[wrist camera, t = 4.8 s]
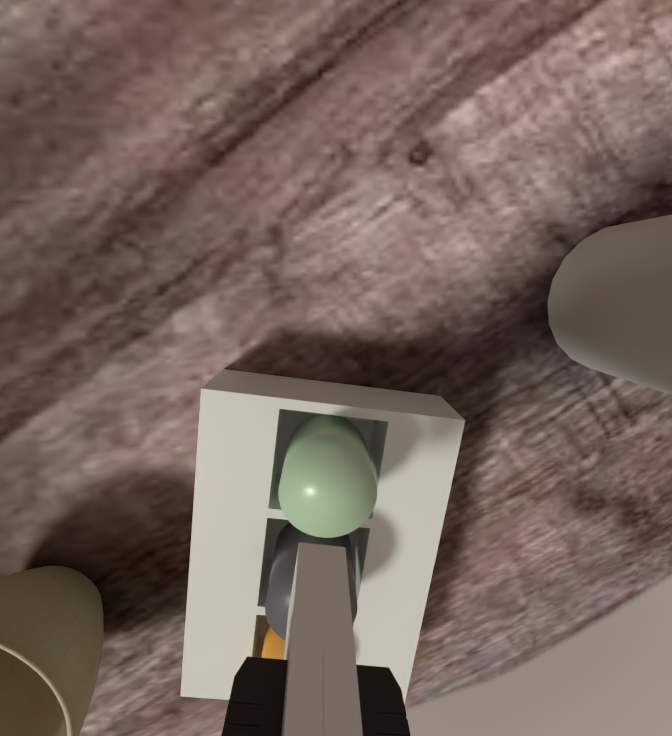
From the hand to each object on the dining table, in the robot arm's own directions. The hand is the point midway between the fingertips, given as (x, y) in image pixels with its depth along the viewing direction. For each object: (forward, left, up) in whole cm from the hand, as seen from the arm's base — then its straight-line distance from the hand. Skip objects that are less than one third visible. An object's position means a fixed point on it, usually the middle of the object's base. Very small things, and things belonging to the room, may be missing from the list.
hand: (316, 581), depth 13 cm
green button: (-1, 0, -8) cm, 8 cm away
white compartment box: (+4, 0, -10) cm, 11 cm away
